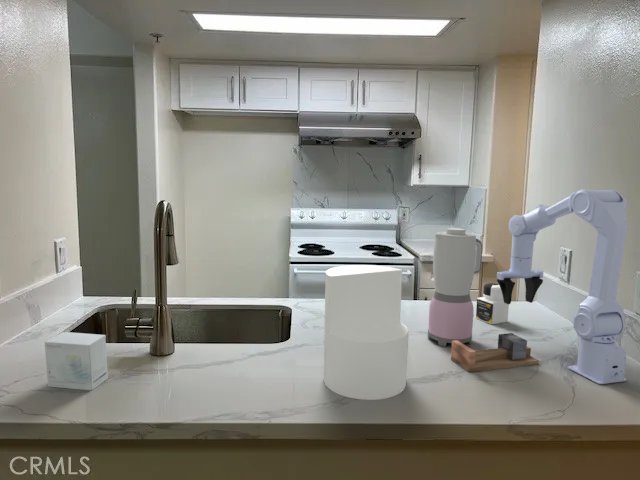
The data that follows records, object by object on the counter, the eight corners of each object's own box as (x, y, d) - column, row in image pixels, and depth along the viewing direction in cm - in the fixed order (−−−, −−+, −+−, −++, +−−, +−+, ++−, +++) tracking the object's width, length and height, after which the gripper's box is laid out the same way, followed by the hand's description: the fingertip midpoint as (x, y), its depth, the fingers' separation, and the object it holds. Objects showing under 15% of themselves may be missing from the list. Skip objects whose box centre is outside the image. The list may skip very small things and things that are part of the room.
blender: (444, 350, 126) (450, 232, 121) (418, 335, 137) (423, 227, 132) (490, 343, 132) (498, 230, 127) (462, 329, 143) (468, 225, 138)
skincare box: (46, 387, 100) (43, 341, 99) (66, 375, 107) (63, 331, 105) (91, 391, 99) (88, 344, 98) (109, 378, 105) (106, 333, 104)
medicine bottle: (475, 318, 154) (477, 283, 153) (491, 315, 157) (493, 281, 156) (491, 324, 148) (494, 287, 146) (508, 322, 151) (510, 286, 149)
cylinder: (312, 369, 112) (313, 267, 108) (381, 359, 118) (385, 263, 115) (343, 405, 95) (346, 285, 91) (422, 392, 101) (428, 279, 98)
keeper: (525, 358, 117) (527, 340, 117) (512, 360, 116) (513, 342, 116) (510, 350, 123) (511, 333, 122) (497, 351, 122) (498, 334, 121)
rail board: (538, 364, 117) (540, 345, 117) (468, 372, 112) (470, 352, 111) (516, 352, 125) (518, 334, 124) (450, 359, 119) (451, 340, 119)
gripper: (532, 253, 141) (529, 297, 143) (491, 255, 137) (488, 300, 139) (550, 257, 134) (546, 303, 136) (507, 259, 130) (503, 306, 132)
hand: (518, 302), depth 137 cm, fingers open, 7 cm apart
